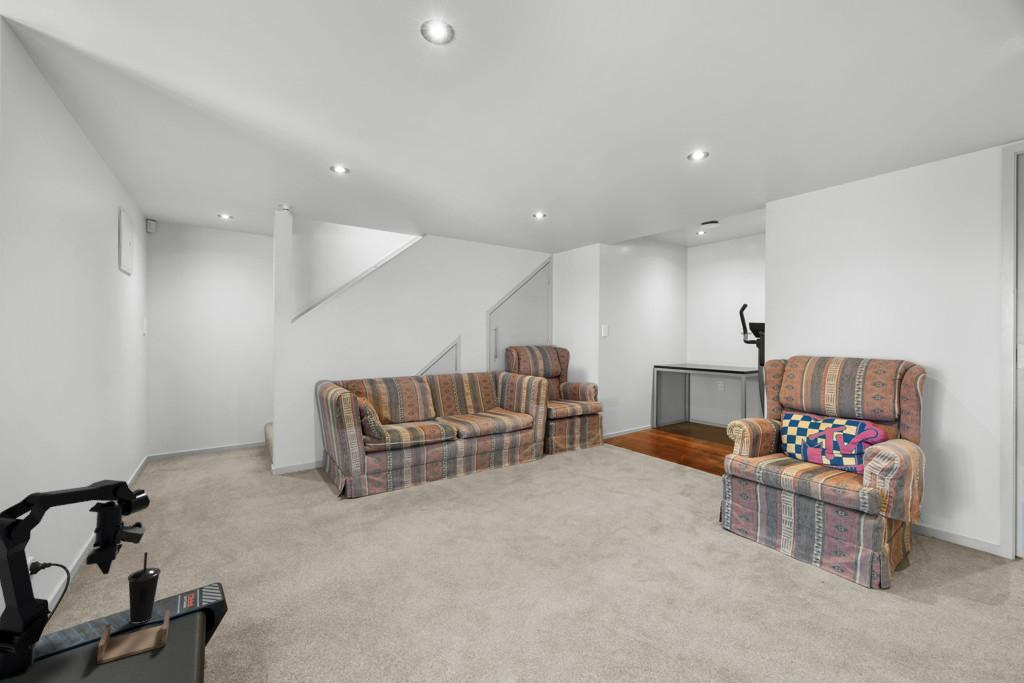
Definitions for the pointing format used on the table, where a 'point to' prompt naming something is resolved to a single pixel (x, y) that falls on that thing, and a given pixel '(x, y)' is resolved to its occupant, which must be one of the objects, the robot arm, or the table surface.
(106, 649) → the cup rest
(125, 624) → the table surface
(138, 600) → the drinking cup
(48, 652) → the table surface
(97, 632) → the table surface
